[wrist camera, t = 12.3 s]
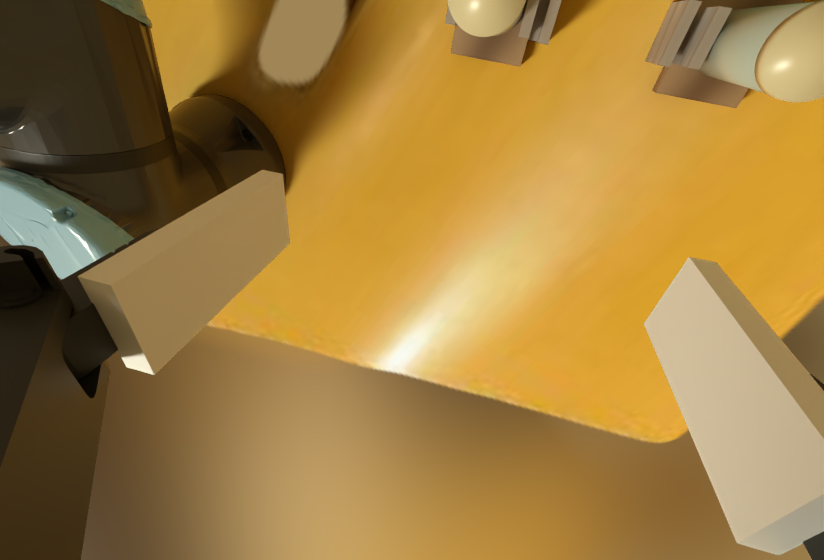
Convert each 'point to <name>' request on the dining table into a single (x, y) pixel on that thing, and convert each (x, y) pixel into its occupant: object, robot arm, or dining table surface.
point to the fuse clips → (673, 48)
